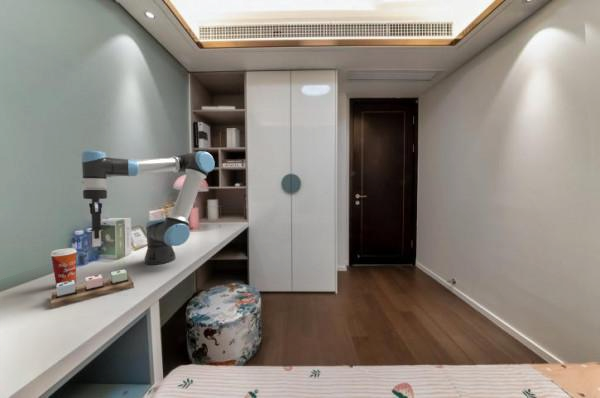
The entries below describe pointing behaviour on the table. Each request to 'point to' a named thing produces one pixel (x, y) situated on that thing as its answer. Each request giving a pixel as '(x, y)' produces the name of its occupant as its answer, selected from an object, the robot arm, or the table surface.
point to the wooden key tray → (90, 292)
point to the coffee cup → (64, 264)
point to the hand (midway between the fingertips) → (96, 246)
